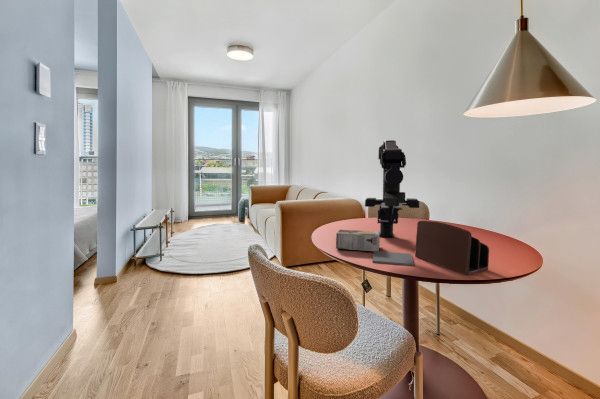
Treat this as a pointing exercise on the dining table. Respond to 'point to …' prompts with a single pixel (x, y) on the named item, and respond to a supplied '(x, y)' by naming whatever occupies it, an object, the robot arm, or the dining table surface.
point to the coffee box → (358, 240)
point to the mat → (392, 258)
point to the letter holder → (451, 247)
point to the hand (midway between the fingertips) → (390, 225)
